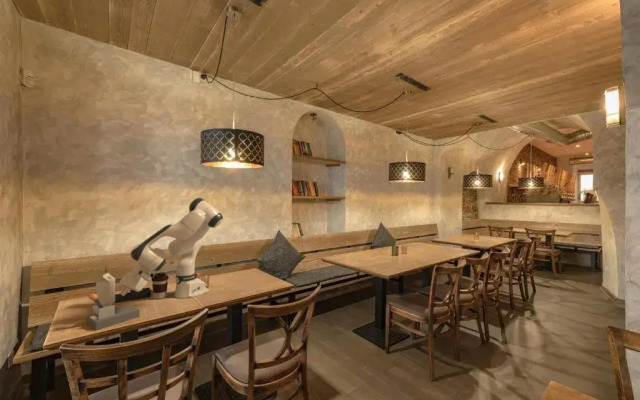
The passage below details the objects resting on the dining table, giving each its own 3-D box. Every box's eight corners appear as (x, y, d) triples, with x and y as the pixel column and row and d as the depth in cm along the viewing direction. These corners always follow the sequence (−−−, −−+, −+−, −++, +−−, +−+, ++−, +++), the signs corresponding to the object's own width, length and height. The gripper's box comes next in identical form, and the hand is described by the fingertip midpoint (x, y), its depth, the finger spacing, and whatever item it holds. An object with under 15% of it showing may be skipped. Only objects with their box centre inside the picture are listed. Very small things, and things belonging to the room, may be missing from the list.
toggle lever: (106, 309, 156) (93, 292, 152) (109, 311, 155) (96, 293, 150) (100, 314, 154) (87, 296, 150) (103, 315, 152) (89, 297, 148)
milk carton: (96, 307, 175) (96, 275, 174) (102, 303, 182) (102, 272, 181) (109, 306, 176) (109, 275, 176) (115, 302, 183) (115, 272, 183)
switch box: (128, 310, 170) (128, 295, 170) (139, 316, 162) (139, 300, 162) (86, 322, 154) (86, 305, 154) (96, 330, 146) (96, 312, 146)
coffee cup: (161, 300, 187) (161, 277, 187) (147, 299, 189) (147, 276, 189) (171, 295, 197) (172, 273, 196) (159, 294, 199) (159, 272, 198)
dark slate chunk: (111, 297, 193) (111, 290, 193) (149, 291, 205) (149, 285, 205) (110, 304, 180) (110, 297, 180) (151, 298, 193) (152, 291, 192)
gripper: (128, 267, 173) (109, 288, 165) (144, 273, 161) (124, 295, 153) (136, 273, 177) (118, 293, 169) (153, 279, 165) (133, 301, 157)
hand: (121, 294), depth 161 cm, fingers closed
